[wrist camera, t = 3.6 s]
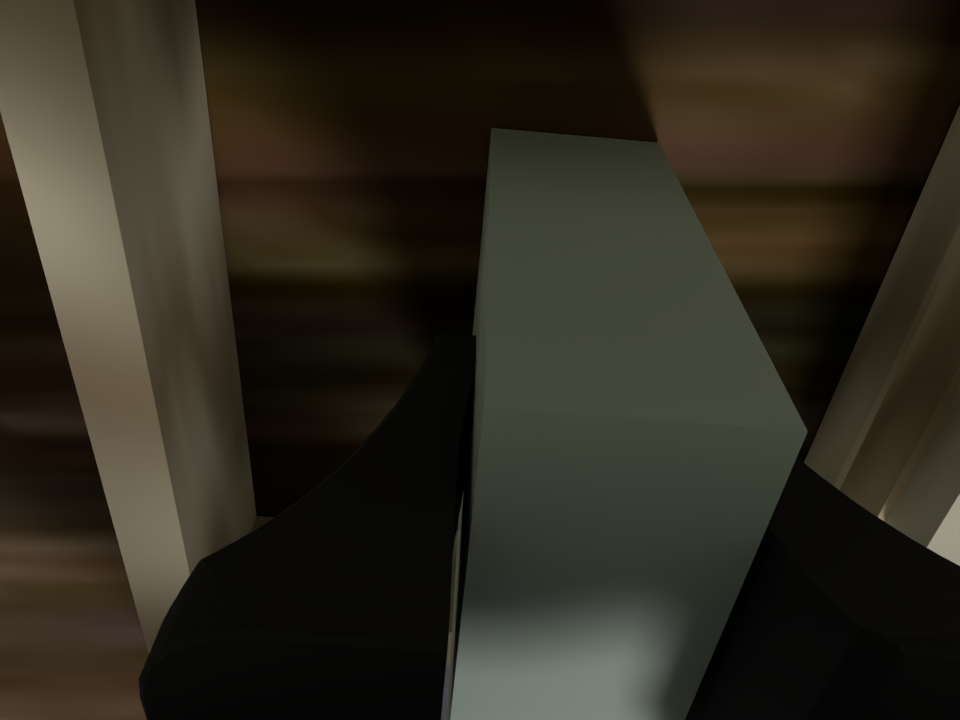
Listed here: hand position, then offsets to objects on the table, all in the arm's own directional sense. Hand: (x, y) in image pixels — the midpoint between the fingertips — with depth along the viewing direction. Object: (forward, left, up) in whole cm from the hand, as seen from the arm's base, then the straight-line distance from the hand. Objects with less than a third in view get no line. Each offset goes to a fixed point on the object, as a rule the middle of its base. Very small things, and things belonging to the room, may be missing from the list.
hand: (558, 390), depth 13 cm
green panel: (0, 0, -3) cm, 3 cm away
